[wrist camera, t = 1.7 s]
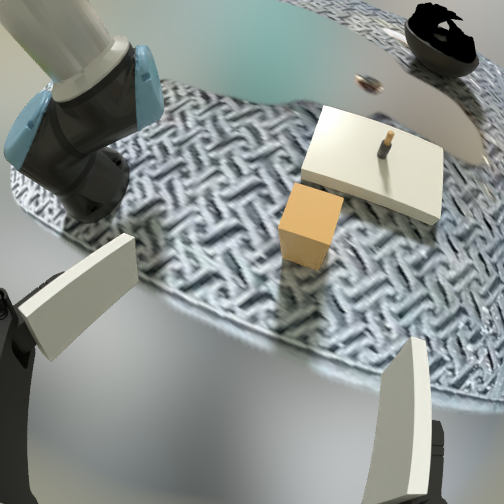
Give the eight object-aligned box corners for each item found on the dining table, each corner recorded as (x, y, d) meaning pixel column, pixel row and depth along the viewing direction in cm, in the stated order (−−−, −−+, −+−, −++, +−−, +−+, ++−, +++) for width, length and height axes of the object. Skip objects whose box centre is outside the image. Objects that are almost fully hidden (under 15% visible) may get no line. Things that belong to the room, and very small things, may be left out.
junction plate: (301, 179, 40) (301, 145, 32) (322, 117, 43) (325, 82, 35) (431, 225, 36) (457, 203, 27) (436, 157, 38) (455, 129, 30)
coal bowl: (423, 43, 48) (436, -5, 30) (476, 86, 42) (500, 39, 24) (382, 51, 47) (393, -9, 30) (444, 101, 42) (472, 40, 24)
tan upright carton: (282, 258, 38) (278, 227, 26) (294, 224, 39) (295, 182, 27) (318, 270, 36) (330, 245, 25) (329, 236, 38) (344, 197, 26)
